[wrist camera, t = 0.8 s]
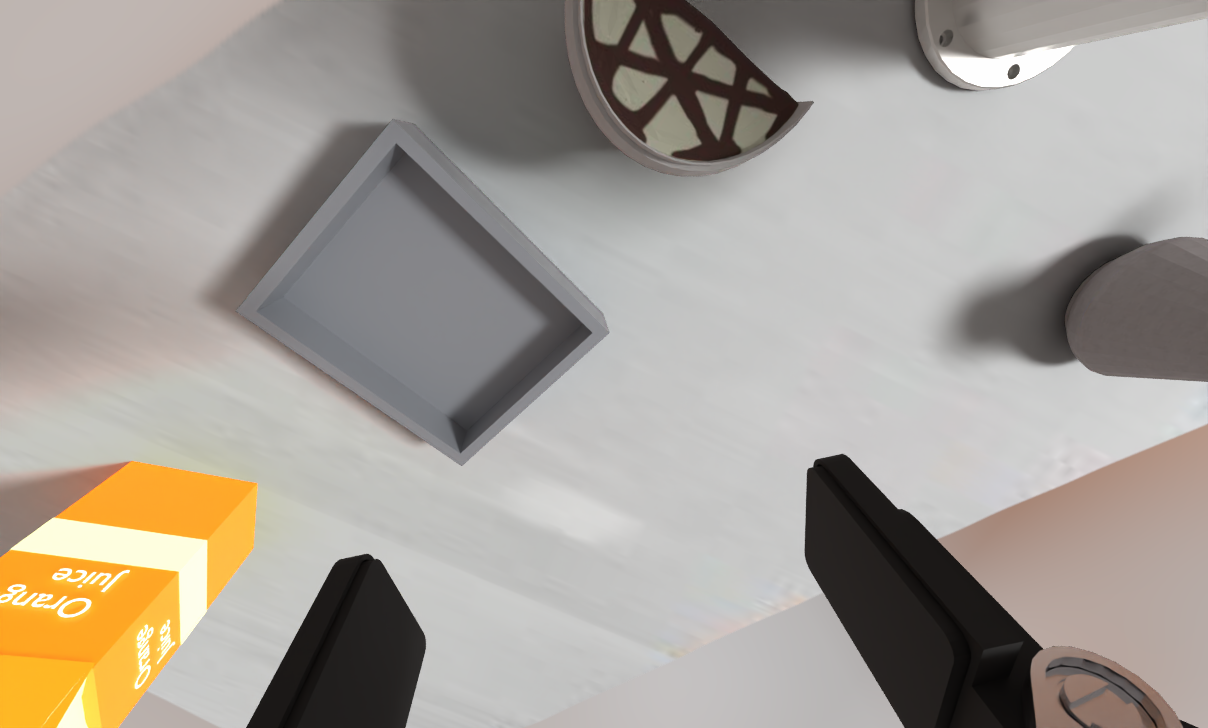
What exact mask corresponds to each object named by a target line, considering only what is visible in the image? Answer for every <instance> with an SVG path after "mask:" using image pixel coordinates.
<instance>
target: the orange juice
mask: <svg viewBox="0 0 1208 728" xmlns="http://www.w3.org/2000/svg"><path fill="white" fill-rule="evenodd" d="M256 497H257V483H252V482H247V481H241V480H235V479H230V478H224V477H218V476H213V475H207V474H202V473H196V472H190V471H185V470H179V469H173V468H168V467H162V466H157V465H151V464H145V463H140V462H134V461H131V462H130V463H129V464H127V465H126V466H125V467H123V468H122V469H120V470H119V471H118V472H116V473H115V474H114V475H112V476H111V477H110V478H108V479H107V480H105V481H104V482H103V483H101V484H100V485H99V486H97V487H96V488H95V489H93V490H92V491H90V492H89V493H88V494H86V495H85V496H84V497H82V498H81V499H80V500H78V501H77V502H75V503H74V504H73V505H71V506H70V507H69V508H67V509H66V510H65V511H63V512H62V513H60V514H59V515H58V516H56V517H55V518H52V519H51V520H49V521H48V522H47V523H45V524H44V525H42V526H41V527H40V528H38V529H37V530H36V531H34V532H33V533H32V534H30V535H29V536H27V537H26V538H25V539H23V540H22V541H21V542H19V543H18V544H16V545H15V546H14V547H12V548H11V549H10V551H9V552H7V553H6V554H5V555H3V556H2V557H0V728H118V727H119V725H120V724H121V723H122V722H123V720H124V719H125V717H126V716H127V715H128V714H129V712H130V711H131V710H132V708H133V707H134V706H135V704H136V703H137V702H138V700H139V699H140V698H141V696H142V695H143V694H144V692H145V691H146V690H147V688H148V687H149V686H150V684H151V683H152V682H153V681H154V679H155V678H156V677H157V675H158V674H159V673H160V671H161V670H162V669H163V667H164V666H165V665H166V663H167V662H168V661H169V659H170V658H171V657H172V655H173V654H174V653H175V651H176V650H177V649H178V647H179V646H180V645H182V643H183V642H184V641H185V639H186V638H187V637H188V635H189V634H190V633H191V631H192V630H193V629H194V627H195V626H196V625H197V623H198V622H199V621H200V619H201V618H202V617H203V615H204V614H205V613H206V611H207V609H208V608H209V606H210V605H211V604H212V602H213V601H214V600H215V598H216V597H217V596H218V594H219V593H220V592H221V590H222V589H223V588H224V586H225V585H226V584H227V582H228V581H229V580H230V578H231V577H232V576H233V574H234V573H235V572H236V570H237V569H238V568H239V566H240V565H241V564H242V562H243V561H244V560H245V559H246V557H247V556H248V555H249V553H250V552H251V551H252V549H253V544H254V528H255V513H256Z"/></svg>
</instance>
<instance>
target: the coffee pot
mask: <svg viewBox="0 0 1208 728" xmlns="http://www.w3.org/2000/svg"><path fill="white" fill-rule="evenodd" d="M1065 327H1066V330H1067V339H1068V343H1069V345H1070V348H1071V351H1072V353H1073V354H1074V355H1075V357H1076V358H1077V359H1078V360H1079V361H1080V362H1081V363H1082V364H1083V365H1084V366H1085V367H1086V368H1088V369H1089V370H1091V371H1093V372H1096V373H1099V374H1102V375H1106V376H1119V377H1136V378H1153V379H1170V380H1187V381H1204V382H1208V240H1207V239H1204V238H1194V237H1178V238H1173V239H1168V240H1163V241H1158V242H1154V243H1150V244H1146V245H1144V246H1142V247H1139V248H1137V249H1135V250H1133V251H1131V252H1129V253H1127V254H1124V255H1122V256H1120V257H1118V258H1116V259H1114V260H1112V261H1110V262H1108V263H1106V264H1104V265H1103V266H1101V267H1100V268H1098V269H1097V270H1096V271H1094V272H1093V273H1092V274H1091V275H1090V276H1089V277H1088V278H1087V279H1086V280H1085V281H1084V282H1083V283H1082V284H1081V285H1080V287H1079V288H1078V289H1077V290H1076V292H1075V293H1074V295H1073V297H1072V299H1071V301H1070V302H1069V304H1068V307H1067V311H1066V314H1065Z"/></svg>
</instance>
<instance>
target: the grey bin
mask: <svg viewBox="0 0 1208 728" xmlns="http://www.w3.org/2000/svg"><path fill="white" fill-rule="evenodd" d="M236 312H237V313H239V314H240V315H242V316H243V317H245V318H246V319H248V320H249V321H251V322H252V323H253V324H255V325H256V326H258V327H259V328H261V329H262V330H264V331H265V332H267V333H268V334H270V335H271V336H272V337H274V338H275V339H277V340H278V341H280V342H281V343H283V344H284V345H286V346H287V347H289V348H290V349H291V350H293V351H294V352H296V353H297V354H299V355H300V356H302V357H303V358H305V359H306V360H307V361H309V362H310V363H312V364H313V365H315V366H316V367H318V368H319V369H321V370H322V371H324V372H325V373H326V374H328V375H329V376H331V377H332V378H334V379H335V380H337V381H338V382H340V383H341V384H343V385H344V386H345V387H347V388H348V389H350V390H351V391H353V392H354V393H356V394H357V395H359V396H360V397H362V398H363V399H364V400H366V401H367V402H369V403H370V404H372V405H373V406H375V407H376V408H378V409H379V410H380V411H382V412H383V413H385V414H386V415H388V416H389V417H391V418H392V419H394V420H395V421H397V422H398V423H399V424H401V425H402V426H404V427H405V428H407V429H408V430H410V431H411V432H413V433H414V434H416V435H417V436H418V437H420V438H421V439H423V440H424V441H426V442H427V443H429V444H430V445H432V446H433V447H434V448H436V449H437V450H439V451H440V452H442V453H443V454H445V455H446V456H448V457H449V458H451V459H452V460H453V461H455V462H456V463H458V464H459V465H461V466H462V465H464V464H465V463H466V462H467V461H468V460H469V459H470V458H471V457H472V456H474V455H475V454H476V453H477V452H478V451H479V450H480V449H481V448H482V447H483V446H485V445H486V444H487V443H488V442H489V441H490V440H491V439H492V438H493V437H495V436H496V435H497V434H498V433H499V432H500V431H501V430H502V429H503V428H505V427H506V426H507V425H508V424H509V423H510V422H511V421H512V420H513V419H515V418H516V417H517V416H518V415H519V414H520V413H521V412H522V411H523V410H524V409H526V408H527V407H528V406H529V405H530V404H531V403H532V402H533V401H534V400H536V399H537V398H538V397H539V396H540V395H541V394H542V393H543V392H544V391H546V390H547V389H548V388H549V387H550V386H551V385H552V384H553V383H554V382H555V381H557V380H558V379H559V378H560V377H561V376H562V375H563V374H564V373H565V372H567V371H568V370H569V369H570V368H571V367H572V366H573V365H574V364H575V363H577V362H578V361H579V360H580V359H581V358H582V357H583V356H584V355H585V354H587V353H588V352H589V351H590V350H591V349H592V348H593V347H594V346H595V345H596V344H598V343H599V342H600V341H601V340H602V339H603V338H604V337H605V336H606V335H608V334H609V330H608V327H607V324H606V321H605V318H604V315H603V313H602V312H601V311H600V310H599V309H598V308H597V307H596V306H595V305H594V304H593V303H592V302H591V301H590V300H589V299H588V298H587V297H586V296H585V295H584V294H583V293H582V292H581V291H580V290H579V289H578V288H577V287H576V286H575V285H574V284H573V283H572V282H571V281H570V280H569V279H568V278H567V277H566V276H565V275H564V274H563V273H562V272H561V271H560V270H559V269H558V268H557V267H556V266H555V265H554V264H553V263H552V262H551V261H550V260H549V259H548V258H547V257H546V256H545V255H544V254H543V253H542V252H541V251H540V250H539V249H538V248H537V247H536V246H535V245H534V244H533V243H532V242H531V241H530V240H529V239H528V238H527V237H526V236H525V235H524V234H523V233H522V232H521V231H520V230H519V229H518V228H517V227H516V226H515V225H514V224H513V223H512V222H511V221H510V220H509V219H508V218H507V217H506V216H505V215H504V214H503V213H502V212H501V211H500V210H499V209H498V208H497V207H496V206H495V205H494V204H493V203H492V202H491V201H490V200H489V199H488V198H487V197H486V196H485V195H484V194H483V193H482V192H481V191H480V190H479V188H478V187H477V186H476V185H475V184H474V183H473V182H472V181H471V180H470V179H469V178H468V177H467V176H466V175H465V174H464V173H463V172H462V171H461V170H460V169H459V168H458V167H457V166H456V165H455V164H454V163H453V162H452V161H451V160H450V159H449V158H448V157H447V156H446V155H445V154H444V153H443V152H442V151H441V150H440V149H439V148H438V147H437V146H436V145H435V144H434V143H433V142H432V141H431V140H430V139H429V138H428V137H427V136H426V135H425V134H424V133H423V132H422V131H421V130H420V129H419V128H418V127H417V126H416V125H415V124H413V123H409V122H404V121H400V120H395V119H392V120H391V122H390V123H389V124H388V125H387V127H386V128H385V129H384V130H383V131H382V133H381V134H380V135H379V136H378V138H377V139H376V140H375V141H374V142H373V144H372V145H371V146H370V147H369V149H368V150H367V151H366V152H365V153H364V155H363V156H362V157H361V158H360V160H359V161H358V162H357V163H356V164H355V166H354V167H353V168H352V169H351V171H350V172H349V173H348V174H347V175H346V177H345V178H344V179H343V180H342V182H341V183H340V184H339V185H338V187H337V188H336V189H335V190H334V191H333V193H332V194H331V195H330V196H329V198H328V199H327V200H326V201H325V202H324V204H323V205H322V206H321V207H320V209H319V210H318V211H317V212H316V213H315V215H314V216H313V217H312V218H311V220H310V221H309V222H308V223H307V224H306V226H305V227H304V228H303V229H302V231H301V232H300V233H299V234H298V235H297V237H296V238H295V239H294V240H293V242H292V243H291V244H290V245H289V246H288V248H287V249H286V250H285V251H284V253H283V254H282V255H281V256H280V257H279V259H278V260H277V261H276V262H275V264H274V265H273V266H272V267H271V268H270V270H269V271H268V272H267V273H266V275H265V276H264V277H263V278H262V279H261V281H260V282H259V283H258V284H257V286H256V287H255V288H254V289H253V290H252V292H251V293H250V294H249V295H248V297H247V298H246V299H245V300H244V301H243V303H242V304H241V305H240V306H239V308H238V309H237V310H236Z"/></svg>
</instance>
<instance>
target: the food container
mask: <svg viewBox="0 0 1208 728" xmlns="http://www.w3.org/2000/svg"><path fill="white" fill-rule="evenodd" d="M565 37H566V44H567V51H568V58H569V62H570V66H571V70H572V73H573V77H574V80H575V84H576V86H577V89H578V91H579V93H580V95H581V98H582V100H583V102H584V105H585V107H586V108H587V110H588V112H589V113H590V115H591V117H592V118H593V120H594V121H595V123H596V125H597V126H598V127H599V129H600V130H601V131H602V132H603V133H604V135H605V136H606V137H607V138H608V139H609V140H610V142H611V143H612V144H614V145H615V146H616V147H617V148H618V149H619V150H621V151H622V152H623V153H624V154H625V155H626V156H628V157H630V158H631V159H633V160H635V161H636V162H638V163H640V164H641V165H643V166H645V167H648V168H651V169H653V170H656V171H658V172H661V173H666V174H671V175H676V176H704V175H710V174H716V173H720V172H722V171H725V170H728V169H731V168H734V167H737V166H739V165H740V164H742V163H744V162H746V161H748V160H750V159H752V158H754V157H756V156H757V155H759V154H761V153H763V152H764V151H766V150H767V149H769V148H770V147H771V146H773V145H774V144H776V143H777V142H778V141H780V140H781V139H782V138H783V137H784V136H785V135H786V134H787V133H788V132H789V131H790V130H791V129H792V128H793V127H794V126H796V125H797V123H798V122H799V121H800V120H801V118H802V117H803V116H804V115H805V113H806V112H807V111H808V110H809V109H810V107H811V105H812V104H813V103H814V102H813V101H808V102H796V101H795V100H794V99H793V98H792V97H791V96H790V95H789V94H788V93H787V92H786V91H784V90H782V89H781V88H780V87H779V86H777V85H776V84H775V83H774V82H773V81H772V80H771V79H769V78H768V77H767V76H766V75H765V74H764V73H763V72H762V71H761V70H760V69H759V68H758V67H757V66H755V65H754V64H753V63H752V62H751V61H750V60H749V59H748V58H747V57H746V56H745V55H744V54H743V53H742V52H741V51H740V50H739V49H738V48H737V47H736V46H735V45H734V44H733V43H732V42H731V41H730V40H729V38H728V37H727V36H726V35H725V34H724V33H723V32H722V31H721V30H720V29H719V28H718V27H717V26H716V25H715V24H714V23H713V22H712V21H710V20H709V19H708V18H707V17H706V16H704V15H703V14H702V13H701V12H699V11H698V10H697V9H696V8H694V7H693V6H692V5H691V4H689V3H688V2H687V1H686V0H565Z"/></svg>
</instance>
